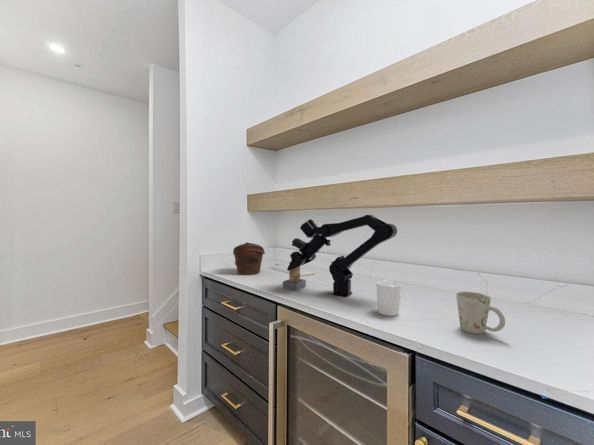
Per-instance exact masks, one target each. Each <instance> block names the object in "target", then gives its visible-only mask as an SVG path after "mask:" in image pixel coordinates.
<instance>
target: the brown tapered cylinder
mask: <svg viewBox="0 0 594 445" xmlns="http://www.w3.org/2000/svg"><path fill="white" fill-rule="evenodd" d="M232 253H233V255H234V261H233V264H235V266H236V271H237V273H238V274H239V275H241V276H251V275H258V274H259V273H260V272H261V267H262V261H263V257H264V256H263V255H265V249H264V247H263V246H261V245H259V244H257V243H251V242H245V243H243V244H239V245H236V247H235V246H234V248H233V252H232Z"/></svg>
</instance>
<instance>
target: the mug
mask: <svg viewBox="0 0 594 445" xmlns="http://www.w3.org/2000/svg"><path fill="white" fill-rule="evenodd" d="M455 295H456V304H457V311H458V318H459V320H458V321H459V327H460V329H461V330H462V331H464V332H467V333H469V334H475V335H476V334H477V335H483V334H485V332H486V331H491V332H498V331H501V330H503V329H504V327H505V326H506V319H505V316H504V314H503V312H502V311H501V309H499V308H498V307H495V306H492V305H491V301H492V300H491V296H490V295H487V294H485V293H480V292H475V291H458V292H456V294H455ZM490 311H492V312H494V313H495V314H496V315H497V316H498V318H499V322H498V324H497V326H495V327H490V326H487V323H488V317H489V312H490Z"/></svg>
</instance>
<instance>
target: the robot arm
mask: <svg viewBox="0 0 594 445" xmlns="http://www.w3.org/2000/svg"><path fill="white" fill-rule="evenodd" d="M365 226H367V227H369V228H371V230H373V231H374V232H373V234H372V235H371V236H370V238H368V239H367V240H365V241H364V242H363V243H361V244H360V245H359V246H358V247H356V248H355V249H354V250H352V252H350V253H349V254H347V255H346V256H344V255H339V256H337V258H335V259H334V260H333V261H331V262H330V263H331V264H330V265H329V267H328V270H329V273H330V275H331V277H332V280H333V282H332V284H333V285H332V286H333V287H332V289H333V290H332V295H335V296H341V297H346V298H347V297H348V296H351V295H352V294H353V292H352V278H353V275H354V274H353V272H352V270H350V269H351V267H352V266H353V264H355V263H356V262H357V261H358V260H360V259H361V258H363V257H364V256H365V255H366V254H368V253H369V252H370V251H372V250H373V249H374V248H376V247H377V246H379V244H383V243H385V242H387V241H389V240H391V239H392V238H394V237H396V236H397V235H398V228H397V226H396V225H395V224H394V223H387V222H385V221H384V220H381V219H379V218H377V217H376V216H374V215H373V214H365V215H363V216H360V217H356V218H352V219H349V220H345V221H342V222H341V221H340V222H332V223H323V224H322V225H321V226H318V225H317V224H316V223H315V221H314V220H313V219H310V218H309V219H308V220H307V221H305V222H304V223H302V224H301V225H300V228H299V229H300V231H301V232H303V234H304V235H305V237H306V238H310V240H309V241H308V242H305V241H304V240H302V239H300V238H294V239H292V241H291V246H293V247H295V248H296V249H298V250H297V251H293V252H291V254H289V256H290V259H291V260H290V261H289V262H290V264H288V265H287V266H288V268H287V270H288V271H289V270H292V269H294V268H296V267H299V266H300V267H301V266H303V265H306V264H308V263H310V262H313V261H314V260H315V259H316V258H317V255H316V254H317V253H319V251H320V250H321V249H322V248H323V247H325V246H327V247H330V246H331V241H332V240H331V239H328V238H332V237H335V236H337V235H340V234H341V233H343V232H346V231H350V230H353V229H357V228H362V227H365Z"/></svg>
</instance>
